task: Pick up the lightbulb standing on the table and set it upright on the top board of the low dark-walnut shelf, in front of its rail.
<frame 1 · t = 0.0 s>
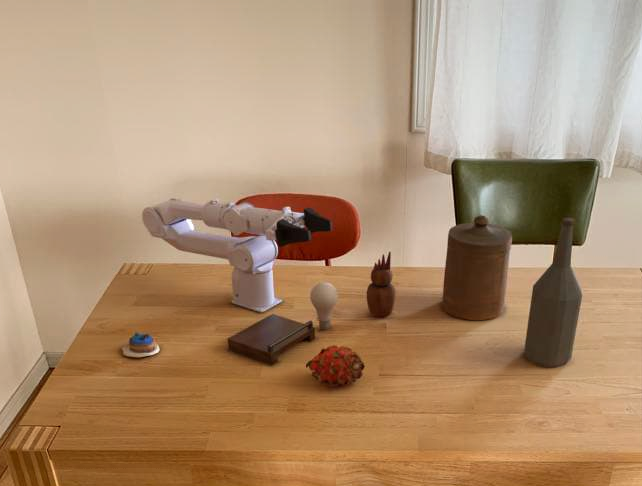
hand: (320, 230, 169), 22 cm above the table, tool horizontal, fingers open, 7 cm apart
dessert: (141, 351, 170), on the table
dragon fruit: (335, 383, 161), on the table
wooden figurine: (380, 314, 187), on the table
shelf: (272, 344, 173), on the table
bottle: (546, 357, 171), on the table
lightbulb: (325, 330, 180), on the table
wooden container: (472, 308, 191), on the table
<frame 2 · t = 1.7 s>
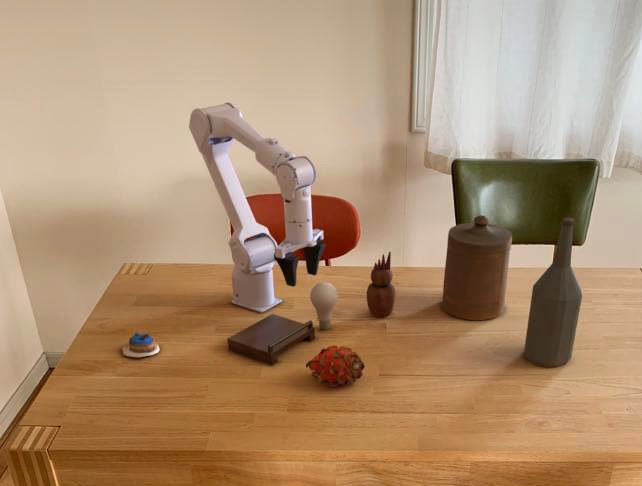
hand: (301, 279, 176), 10 cm above the table, tool pointing down, fingers open, 7 cm apart
nothing on the table moved.
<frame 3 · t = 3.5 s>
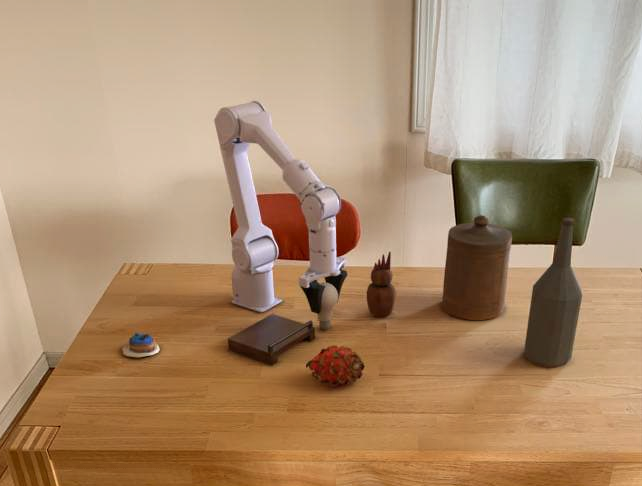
hand: (324, 307, 176), 5 cm above the table, tool pointing down, fingers closed on lightbulb, 6 cm apart
lightbulb: (325, 330, 180), on the table, touching gripper
everything else where it was.
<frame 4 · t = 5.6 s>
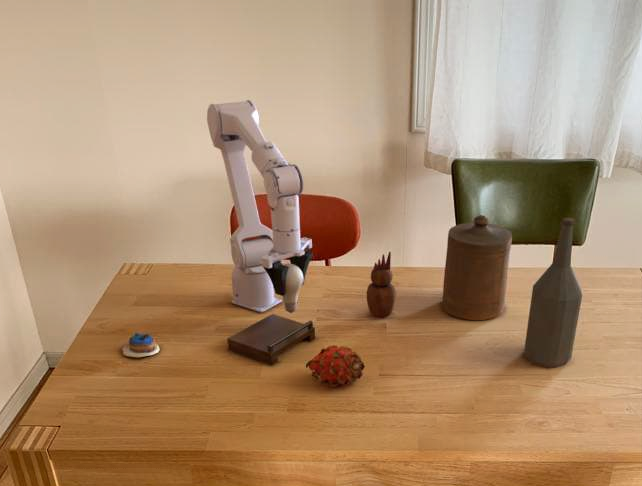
hand: (289, 289, 172), 10 cm above the table, tool pointing down, fingers closed on lightbulb, 6 cm apart
lightbulb: (291, 313, 175), point 5 cm above the table, touching gripper
everything else where it was.
when the fingers open (8 cm above the table, at t = 7.6 s): lightbulb stays where it is, resting on shelf.
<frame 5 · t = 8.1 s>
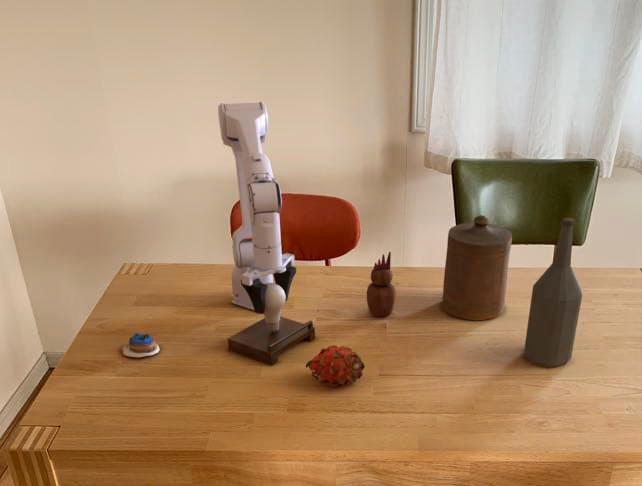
hand: (271, 306, 168), 9 cm above the table, tool pointing down, fingers open, 7 cm apart
lightbulb: (273, 332, 172), point 3 cm above the table, touching shelf
everything else where it was.
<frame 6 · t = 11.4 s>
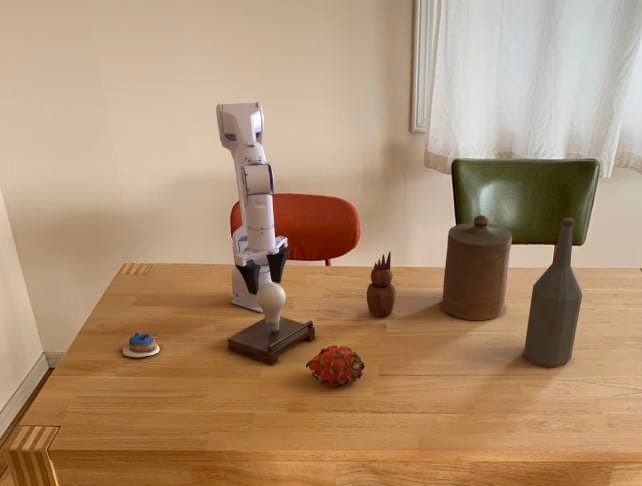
hand: (265, 287, 172), 10 cm above the table, tool pointing down, fingers open, 7 cm apart
nothing on the table moved.
at the end: lightbulb inside the target area on the shelf (0.6 cm from its centre), point 2.6 cm above the shelf's base; lightbulb tilted 0°; lightbulb touching shelf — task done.
